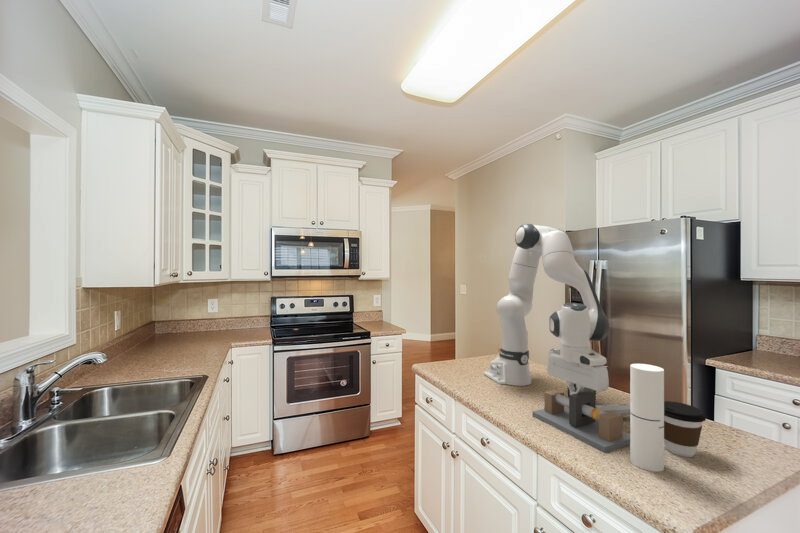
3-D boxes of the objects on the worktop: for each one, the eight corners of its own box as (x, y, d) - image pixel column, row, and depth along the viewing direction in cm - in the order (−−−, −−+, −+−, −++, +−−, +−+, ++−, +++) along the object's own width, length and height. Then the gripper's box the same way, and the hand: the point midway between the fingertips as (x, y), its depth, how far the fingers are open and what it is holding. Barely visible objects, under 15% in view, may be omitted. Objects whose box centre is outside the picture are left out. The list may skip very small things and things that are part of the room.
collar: (569, 423, 108) (569, 395, 108) (588, 418, 112) (588, 390, 112) (575, 426, 106) (575, 397, 106) (595, 421, 110) (595, 393, 110)
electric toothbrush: (580, 403, 120) (652, 394, 119) (583, 422, 120) (655, 413, 119) (588, 409, 115) (664, 400, 114) (591, 429, 115) (666, 420, 114)
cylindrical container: (624, 455, 93) (624, 363, 93) (651, 456, 93) (651, 363, 93) (642, 471, 86) (641, 371, 86) (671, 471, 86) (671, 371, 86)
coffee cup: (686, 464, 89) (686, 418, 89) (645, 444, 100) (645, 402, 100) (716, 458, 92) (716, 413, 92) (673, 439, 103) (673, 398, 103)
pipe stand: (532, 415, 118) (532, 392, 118) (561, 409, 124) (561, 386, 124) (604, 452, 95) (604, 423, 95) (636, 442, 101) (636, 414, 101)
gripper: (542, 348, 120) (542, 388, 119) (597, 362, 101) (598, 409, 101) (555, 346, 122) (555, 385, 122) (611, 360, 104) (612, 406, 104)
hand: (575, 396), depth 111 cm, fingers closed
